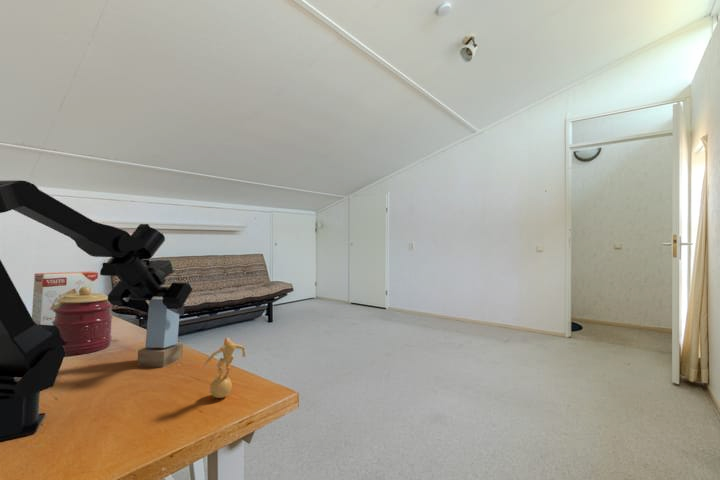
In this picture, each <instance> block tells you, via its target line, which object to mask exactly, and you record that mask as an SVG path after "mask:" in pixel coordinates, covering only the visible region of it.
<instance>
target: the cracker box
mask: <svg viewBox="0 0 720 480" xmlns="http://www.w3.org/2000/svg"><path fill="white" fill-rule="evenodd" d="M33 279H34V280H33V282H34V283H33V292H32V293H33V294H32V308H31V317H32V319H33V321H34V322H35V323H36V324H39V325H53V324H52V322H53V321H54V320H55V312H53V309H54V308H56V307H58V306H59V304H60V303H59V302H58V300H59V299H61V298H63V297H64V296H66V295H71V294H79V290H80V288H82V287H89V288H90V289H91V293H98V281H99V280H98V279H99V272H97V271H90V270H89V271H59V272H42V273H41V272H40V273H34V277H33Z"/></svg>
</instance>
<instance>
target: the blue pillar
mask: <svg viewBox="0 0 720 480" xmlns="http://www.w3.org/2000/svg"><path fill="white" fill-rule="evenodd" d="M148 305H149V310H148V314H147V324H146V333H145V347H149V348H165V347H169V346H172V345H176V344H177V343H178V339H179V337H178V336H179V326H180V325H179V323H180V315H179V314H177V313H175V312H173V311H171V310H169V309H167V308H166V307H167V306H165V305H164V304H163V297H154V298H152V299H151V300H150V301H148ZM145 347H144V348H145Z"/></svg>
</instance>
